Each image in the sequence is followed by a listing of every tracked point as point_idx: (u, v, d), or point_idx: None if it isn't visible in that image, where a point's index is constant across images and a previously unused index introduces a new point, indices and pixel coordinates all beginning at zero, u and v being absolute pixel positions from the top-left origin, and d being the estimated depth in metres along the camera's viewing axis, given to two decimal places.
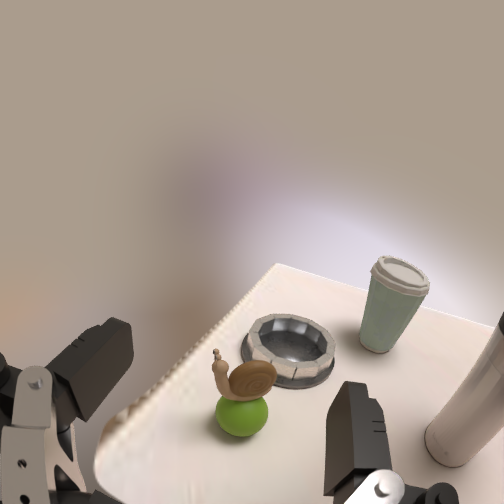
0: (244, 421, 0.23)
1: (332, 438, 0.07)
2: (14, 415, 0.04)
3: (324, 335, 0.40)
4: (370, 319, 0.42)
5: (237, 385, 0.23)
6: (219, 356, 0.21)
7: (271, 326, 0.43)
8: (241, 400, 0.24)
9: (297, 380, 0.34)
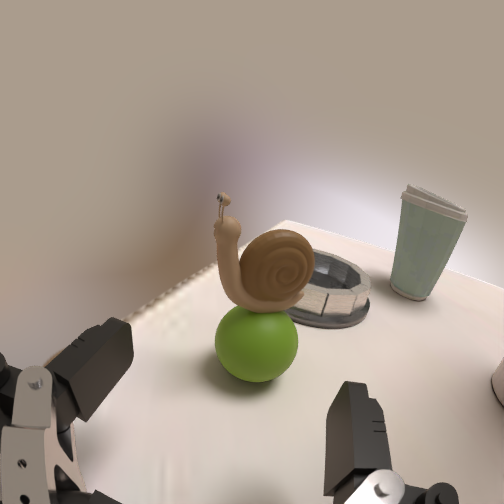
0: (263, 347, 0.15)
1: (332, 438, 0.07)
2: (13, 415, 0.04)
3: (354, 268, 0.32)
4: (404, 255, 0.34)
5: (254, 271, 0.15)
6: (227, 197, 0.13)
7: None
8: (258, 309, 0.16)
9: (328, 315, 0.26)
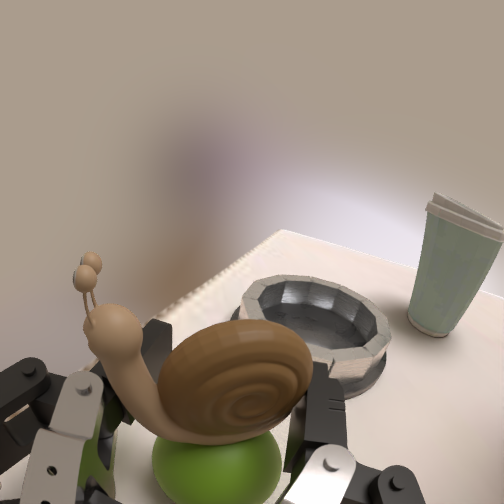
0: (218, 497, 0.07)
1: (294, 415, 0.08)
2: (53, 418, 0.05)
3: (367, 307, 0.24)
4: (429, 284, 0.25)
5: (185, 405, 0.06)
6: (86, 272, 0.05)
7: (280, 294, 0.26)
8: (207, 444, 0.07)
9: None
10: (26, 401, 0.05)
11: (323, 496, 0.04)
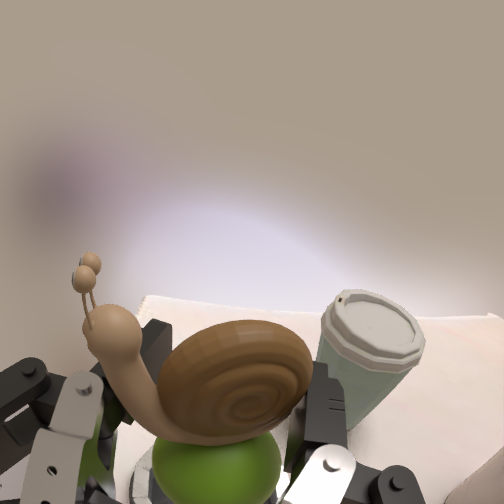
0: (217, 498, 0.07)
1: (294, 415, 0.08)
2: (53, 418, 0.05)
3: None
4: None
5: (185, 406, 0.06)
6: (84, 272, 0.04)
7: None
8: (207, 444, 0.07)
9: None
10: (26, 401, 0.05)
11: (323, 496, 0.04)
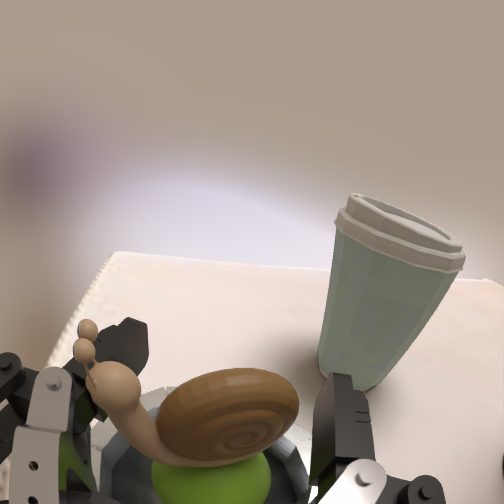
0: None
1: (317, 428, 0.08)
2: (29, 415, 0.04)
3: None
4: (355, 341, 0.18)
5: (182, 441, 0.06)
6: (84, 347, 0.05)
7: None
8: (202, 466, 0.08)
9: None
10: (1, 394, 0.05)
11: None
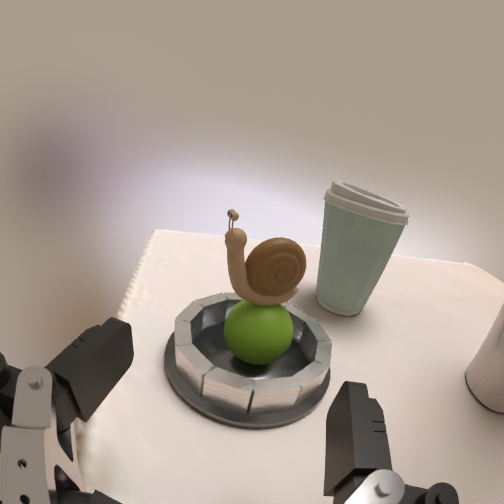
0: (265, 333, 0.19)
1: (332, 438, 0.07)
2: (13, 415, 0.04)
3: (293, 312, 0.25)
4: (339, 272, 0.30)
5: (257, 271, 0.19)
6: (236, 213, 0.17)
7: (200, 322, 0.24)
8: (260, 302, 0.20)
9: (300, 404, 0.18)
10: None
11: None
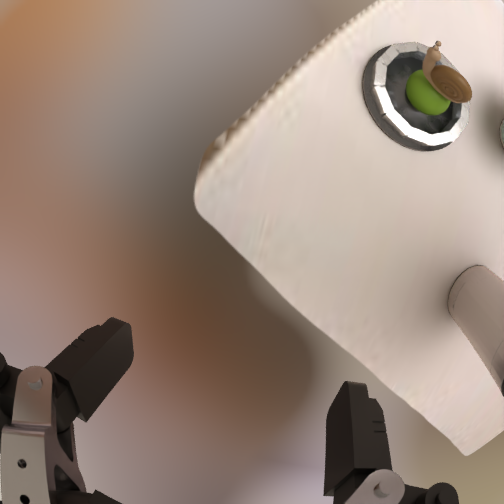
0: (420, 99, 0.22)
1: (332, 438, 0.07)
2: (13, 415, 0.04)
3: (462, 105, 0.22)
4: None
5: (437, 76, 0.17)
6: (436, 48, 0.14)
7: (411, 54, 0.22)
8: (432, 86, 0.20)
9: (406, 139, 0.27)
10: None
11: None
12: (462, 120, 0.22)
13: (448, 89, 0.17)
